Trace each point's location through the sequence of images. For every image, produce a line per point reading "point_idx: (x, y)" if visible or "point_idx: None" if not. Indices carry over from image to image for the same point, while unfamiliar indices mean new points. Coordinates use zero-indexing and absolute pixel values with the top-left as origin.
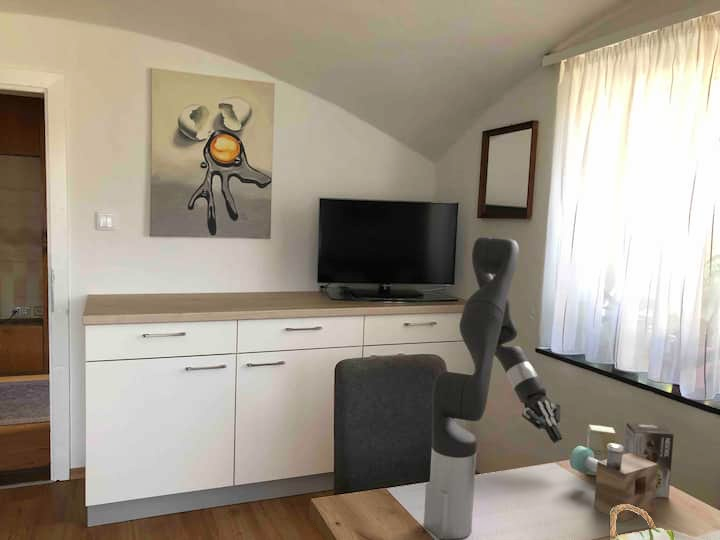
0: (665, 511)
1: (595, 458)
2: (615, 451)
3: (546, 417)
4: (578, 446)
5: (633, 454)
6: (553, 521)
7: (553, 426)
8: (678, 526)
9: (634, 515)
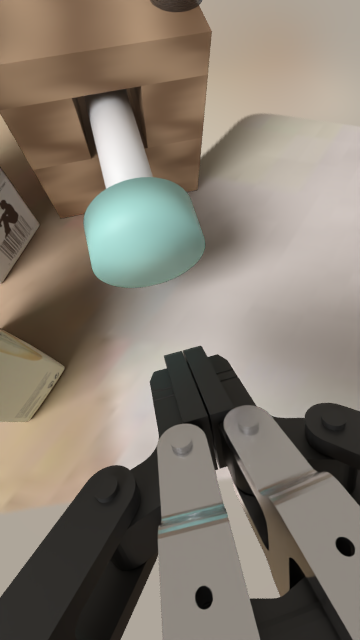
0: None
1: (9, 336)
2: None
3: (303, 479)
4: (150, 219)
5: None
6: (336, 160)
7: (210, 412)
8: None
9: None
